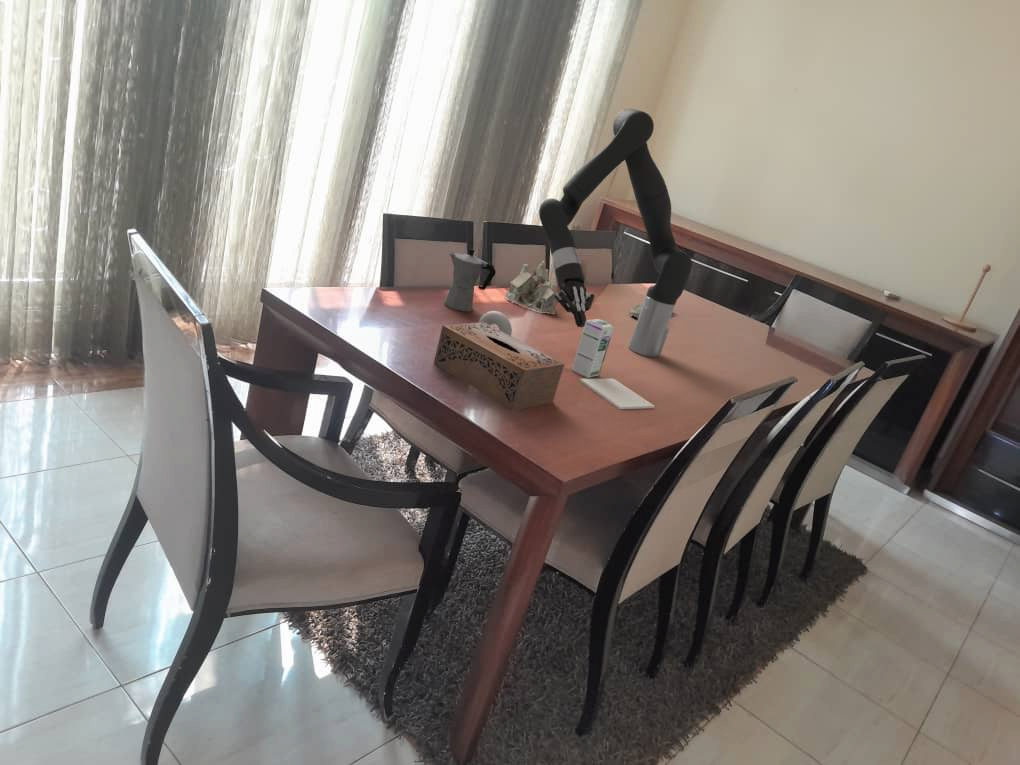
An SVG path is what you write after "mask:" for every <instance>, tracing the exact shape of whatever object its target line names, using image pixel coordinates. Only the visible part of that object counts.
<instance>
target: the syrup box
mask: <svg viewBox="0 0 1020 765" xmlns="http://www.w3.org/2000/svg"><path fill="white" fill-rule="evenodd" d="M614 329H615V326H614V325H613V324H611V323H610V322H607V321H606V320H603V319H600V318H595V319H586V322H585V326H584V327H583V329H582V333H581V336H580V340H579V342H578V347H577V349H576V350H577V351H576V354H575V357H574V360H573V364H572V368H571V370H572V371H573V372H575V373H576V374H579V375H581V376H583V377H585V378H586V379H591V378H593V377H598V376H600V374H601V371H602V368H603V366H604V365H603V364H604V362H605V357H606V355H607V353H608V352H607V351H608V349H609V345H610V341H611V340H612V335H613V332H614Z"/></svg>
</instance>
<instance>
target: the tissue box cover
mask: <svg viewBox="0 0 1020 765" xmlns="http://www.w3.org/2000/svg"><path fill="white" fill-rule="evenodd" d="M433 364H434V365H435V366H436V367H439V368H440V369H442V370H443V371H445V372H447V373H448V372H449V373H448V374H450V375H452V376H453V375H454V376H453V377H454V378H457V379H458V380H460V381H462V382H464V383H465V384H467V385H468V386H470V387H472V388H474V389H475V390H476V391H478V392H480V393H482V394H484V395H485V396H487V397H488V398H491V399H492V400H494V401H495V402H497V403H499V404H501V405H502V406H504V407H505V408H507V409H509V410H511V411H512V412H517V411H521V410H525V409H529V408H533V407H537V406H543V405H547V404H551V403H554V399H555V395H556V394H557V393H556V392H557V390H558V387H559V383H560V380H561V376H562V373H563V370H564V367H565V363H563V362H562V361H560V360H558V359H556V358H554V357H551V356H550V355H548V354H547V353H544V352H542V351H540V350H538V349H536V348H535V347H533V346H531V345H528V344H527V343H525V342H524V341H521V340H519V339H517V338H515V337H514V336H512V335H511V336H510V335H508V334H506V333H504V332H502V331H500V330H499V328H496V327H494V326H492V325H489V324H487V323H485V322H479V321H478V322H470V323H468V322H467V323H456V324H455V323H454V324H444V325H442V327H441V331H440V336H439V339H438V344H437V348H436V352H435V356H434V360H433Z"/></svg>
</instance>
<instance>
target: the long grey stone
mask: <svg viewBox="0 0 1020 765" xmlns="http://www.w3.org/2000/svg"><path fill="white" fill-rule="evenodd" d="M642 306H643V303H639V304H637V305H635V306H632V307H631V309H630V310H629V315H632V316H634V317H636V318H635V319H638V318H639V315H640V312H641V309H642ZM632 316H631V317H632ZM634 317H633V318H634Z"/></svg>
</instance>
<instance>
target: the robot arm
mask: <svg viewBox="0 0 1020 765" xmlns="http://www.w3.org/2000/svg"><path fill="white" fill-rule="evenodd" d="M654 125H655V124H654V120H653V118H652V117H651V115H650V114H648V113H647V112H645V111H642V110H639V109H634V108H623V109H622V110H620V111H618V113H617V114H616V116H614V119H613V123H612V131H613V135H614V138H612V140H611V141H610V143H608V145H607V146H605V147H604V148H603V149H602V150H601V151H600V152H599V153H597V154H596V155H595V156H593V157H592V158H591V159H589V160H588V161H586V163H584V164H583V165H582V166H581V167H580V168H579V169H578V170H577V171H576V172H575V173H574V174H573V175H572V176H571V177H570V179H569V180H568V181H567V182H566V183H565V184H564V186H563V188H562V192H563V196H562V197H561V199H560V200H558V199H557V198H547V199H545V200H544V201H543V202H542V203H541V204H540V207H539V210H538V216H539V220H540V223H541V226H542V228H543V231H544V234H545V236H546V238H547V241H548V245H549V250H550V254H551V260H552V266H553V271H554V275H555V278H556V283H557V286H558V287H559V292H557V294H556V295H555V298H556V299H557V300H558V304H560V305H561V306H562V308H564V310H565V311H566V312H567V313H571V314H572V315H573V318H574V322H575V325H576V327H577V328H584V326H585V322H586V320H587V317H586V314H585V313H586V312H587V311H589V310H590V309H591V307H592V303H593V301H594V300H595V295H594V293H591V294H590V293H589V292H587V291H588V290H587V288H586V285H585V284H584V283H585V279H586V277H585V274H584V271H583V266H582V263H581V258H580V255H579V253H578V250H577V247H576V246H577V245H576V243H575V242H576V241H575V238H574V235H573V234H572V231H571V230H570V229H569V227H568V226H569V225H570V224H571V223H572V221H573V220H574V219H575V217H576V215H577V214H578V212H579V210H580V209H581V206H582V205H583V203H584V202H585V201H586V200H587V198H589V197H590V195H592V193H593V192H594V191H595V190H596V189H597V188H598V186H599V185H601V183H602V182H603V181H604V180H605V179H606V178H607V177H608V176H609V175H610V174H611V173H612V172H614V170H615V169H616V168H617V167H619V165H621V164H622V163H623V162H624V161H625V164H626V167H627V168H626V169H627V171H628V176H629V179H630V183H631V186H632V190H633V193H634V197H635V202H636V205H637V208H638V210H639V213H640V216H641V220H642V223H643V226H644V229H645V231H646V234H647V237H648V240H649V246H650V252H651V257H652V262H653V266H654V268H655V270H656V272H657V273H658V274H659V276H658V279H657V281H656V283H655V284H654V285H651V286H649V287H648V289H647V291H646V295H645V298H644V300H643V303H642V304H643V306H642V309H641V312H640V315H639V318H637V321H636V323H635V324H636V325H635V328H634V330H633V333H632V337H631V339H630V341H629V342H630V343H629V345H628V348H629V350H631V351H632V352H634V353H636V354H639V355H642V356H645V357H650V358H656V357H659V358H660V357H661V354H662V351H663V348H664V346H665V343H666V340H667V337H668V335H669V332H670V328H669V323H670V321H671V317H672V315H673V312H674V310H675V307H676V304H677V301H678V299H679V298H680V297H681V296H682V294H683V292H684V289H685V287H686V285H687V282H688V279H689V277H690V274H691V271H692V268H693V262H692V258H691V256H690V255H689V254H688V253H687V252H686V251H684V250H681V249H680V247H678V245H677V243H676V240H675V236H674V234H673V232H672V225H671V224H672V223H671V221H672V220H671V218H672V203H671V198H670V194H669V190H668V186H667V183H666V182H665V179H664V177H663V175H662V173H661V171H660V169H659V168H658V166H657V165H656V163H655V161H654V159H653V158H652V156H651V153H650V150H649V146H648V141H649V140H650V138H651V137H652V135H653V133H654V129H655V126H654Z"/></svg>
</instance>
